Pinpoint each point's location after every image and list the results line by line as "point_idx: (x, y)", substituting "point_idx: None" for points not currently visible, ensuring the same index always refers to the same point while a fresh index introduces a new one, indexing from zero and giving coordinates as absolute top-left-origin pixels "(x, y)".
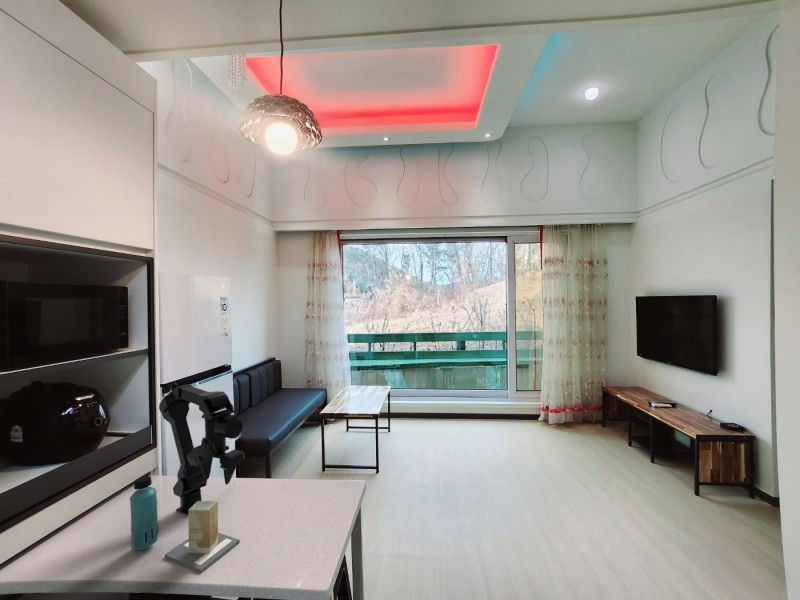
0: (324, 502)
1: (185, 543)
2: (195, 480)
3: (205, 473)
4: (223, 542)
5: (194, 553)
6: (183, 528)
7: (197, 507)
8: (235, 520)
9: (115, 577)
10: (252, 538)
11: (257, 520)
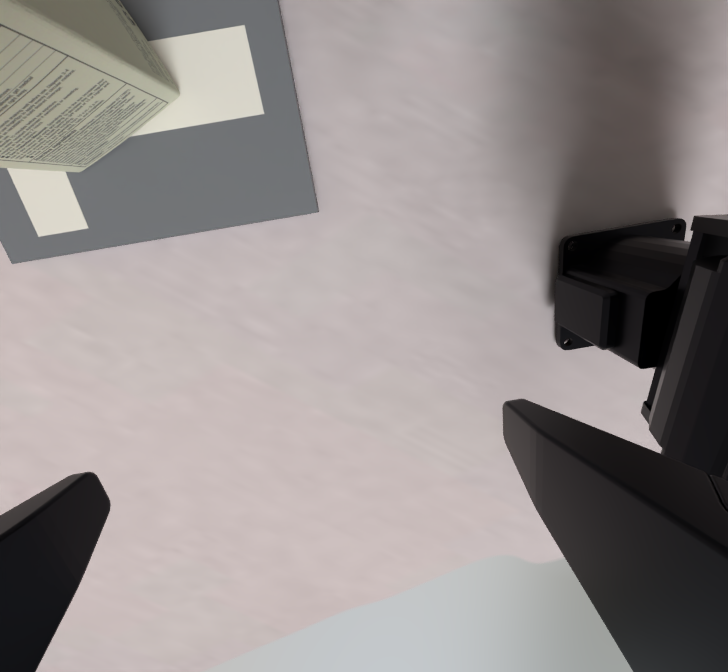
0: None
1: (254, 45)
2: (720, 357)
3: (559, 460)
4: (57, 195)
5: None
6: (459, 150)
7: None
8: (257, 355)
9: None
10: (11, 318)
11: (155, 412)
